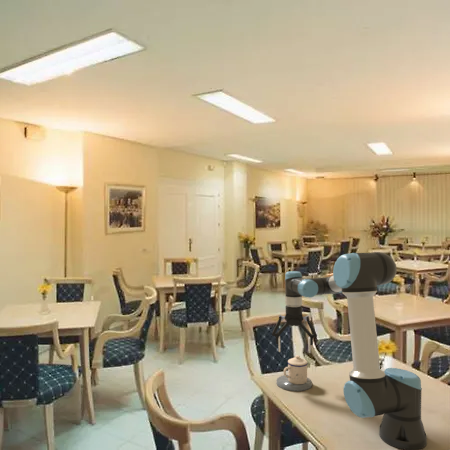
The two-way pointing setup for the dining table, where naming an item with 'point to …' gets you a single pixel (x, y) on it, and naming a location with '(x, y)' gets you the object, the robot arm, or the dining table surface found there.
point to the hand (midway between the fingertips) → (294, 351)
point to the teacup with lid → (296, 370)
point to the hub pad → (287, 385)
